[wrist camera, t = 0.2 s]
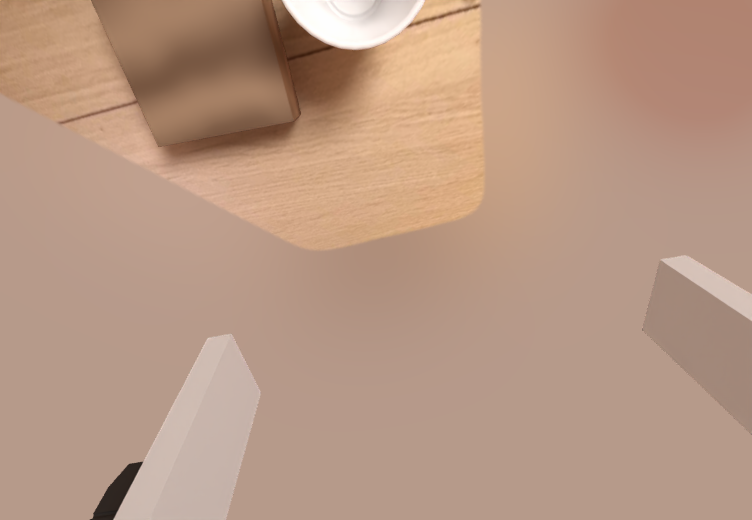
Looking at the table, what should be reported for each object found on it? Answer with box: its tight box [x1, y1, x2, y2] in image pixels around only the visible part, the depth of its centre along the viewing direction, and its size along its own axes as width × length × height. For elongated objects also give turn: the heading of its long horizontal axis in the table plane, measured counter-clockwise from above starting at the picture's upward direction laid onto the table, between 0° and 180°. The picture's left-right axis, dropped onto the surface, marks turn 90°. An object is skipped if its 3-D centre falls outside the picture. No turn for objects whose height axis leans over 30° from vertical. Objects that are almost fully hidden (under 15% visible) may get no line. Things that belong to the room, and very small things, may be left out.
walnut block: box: [91, 0, 301, 147], centre depth 30 cm, size 12×12×5 cm
